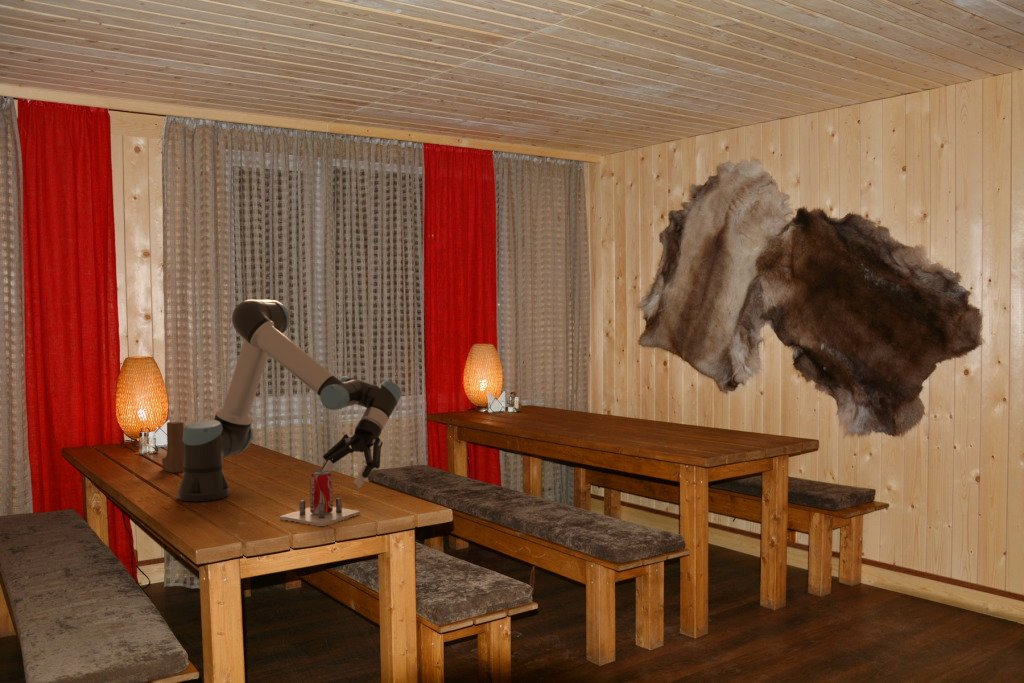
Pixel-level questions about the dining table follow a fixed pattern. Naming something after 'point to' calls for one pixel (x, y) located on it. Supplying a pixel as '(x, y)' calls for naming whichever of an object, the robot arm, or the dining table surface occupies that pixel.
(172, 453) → the wooden block
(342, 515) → the base plate
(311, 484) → the soda can
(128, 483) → the dining table surface
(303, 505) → the standoff pins
